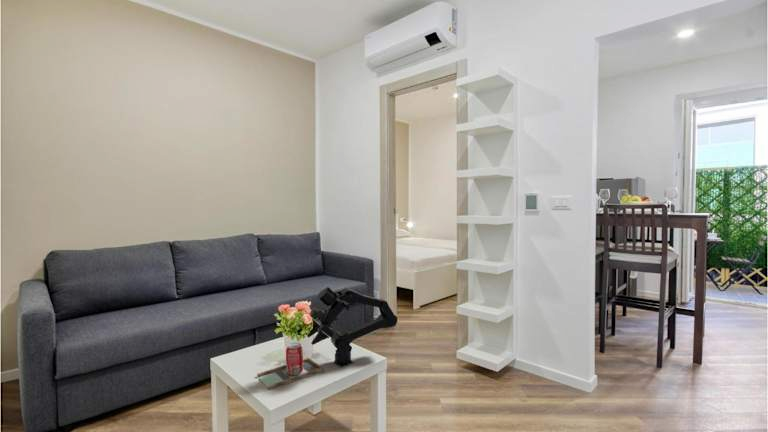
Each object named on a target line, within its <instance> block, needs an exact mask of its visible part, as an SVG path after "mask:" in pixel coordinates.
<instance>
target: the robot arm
mask: <svg viewBox="0 0 768 432" xmlns="http://www.w3.org/2000/svg"><path fill="white" fill-rule="evenodd" d="M317 294H318V295H317V297H316V298H317V299H318V300H319V301H320V302H321V303H322V304H324V305H325V306H326V307H328V308H325V309H323V310H322V309H319V308H316V307H312V308H311V310H310V313H309V316H310V317H312V318H311V322H312V321H313V323H312V324H313V329H312V330H311V331H310V330H309V331H310V333H309V332H308V333H309V334H308V333H307V338H310V337H312V336H313V335H315V334H316V335H315V336H314V338H313V339H312V341H311V345H312V346H313V345H315V344H317V343H320V342H322V341H324V340H326V339H329V338H330V342H331V343H332V345H333V346H334V347H335V353H334V361H333V363H335V364H337V365H338V366H339V367H346V366H348V365H350V364H353V363H354V361H353V360H352V353H351V352H352V348H353V346H352V345H351V343H352V342H354V341H355V340H358V339H359V338H361V337H364V336H366V335H368V334H371V333H373V332H375V331H377V330H380V329H389V328H393V327H395V326H396V325H397V323H398V317H397V316H396V314H394V312H393V310H392V309H391V307H390V306H389V305H390V304H388V301H387V300H385V299H383V298H379V297H378V298H377V297H374V296H370V295H365V294H362V293H359V292H357V291H355V290H354V289H351V288H349V287H343V288H342V289H341V290H339V291H336V292H335V291H333V290H332V289H331V288H330V287H329V286H326V287H325V288H323V289H322V290H320V292H319V293H317ZM350 304H363V305H366V306H367V305H368V306H371V307H374V308H375V307H376V308H378V310H379V313H380V314H379V315H378V316H377V317H376V318H375V319H373V320H371V321H368V322H365V323H363V324H361V325H359V326H357V327H354V328H351V329H350V330H346V329H345V328H344V327H343V328H340V329H339V330H335V331H334V330H333V328H332V327H333V323H335V322H338V320H339V319H338V317H340V315H341V314H342V313H343V311H344V310H346V311H347V312H348V311H350ZM313 319H314V320H313Z"/></svg>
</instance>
